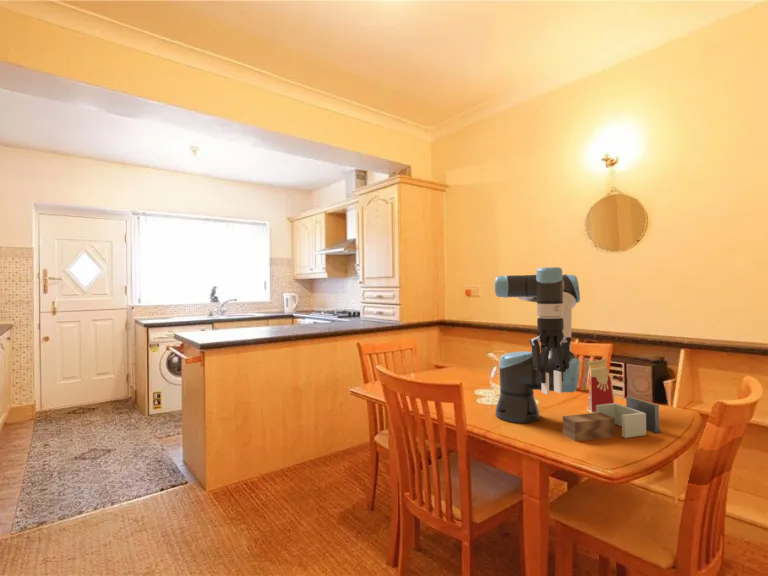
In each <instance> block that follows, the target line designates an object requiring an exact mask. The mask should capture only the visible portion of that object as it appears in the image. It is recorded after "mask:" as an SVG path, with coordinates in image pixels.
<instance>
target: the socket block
mask: <svg viewBox="0 0 768 576" xmlns="http://www.w3.org/2000/svg"><path fill="white" fill-rule="evenodd" d="M596 413H603V414H605V415H608V416H610V417H613V418H615V426H616V425H617V426H619V427H621V433H622V434H621V437H623V438H625V439H628V438H635V437H641V436H647V430H646V413H643V412H641V411H638V410H635V409H632V408H629V407H626V405H623V404H619V403H617V402H614V403H610V404H601V405H596Z"/></svg>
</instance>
